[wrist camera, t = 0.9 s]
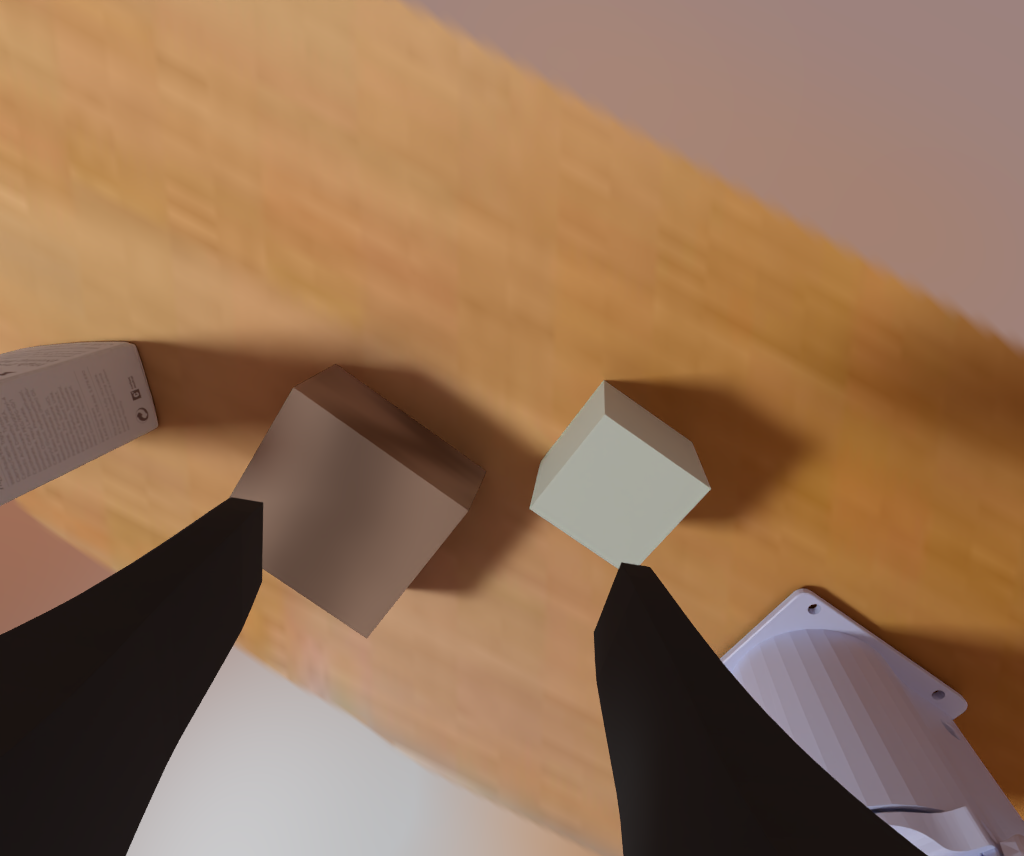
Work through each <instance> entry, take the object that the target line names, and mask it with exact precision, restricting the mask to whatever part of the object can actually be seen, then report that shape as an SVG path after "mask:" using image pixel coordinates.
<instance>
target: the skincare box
mask: <svg viewBox="0 0 1024 856" xmlns="http://www.w3.org/2000/svg"><path fill="white" fill-rule="evenodd" d="M157 427H158V421H157V416H156V412H155V407H154V404H153V399H152V395H151V392H150V389H149V386H148V383H147V379H146V376H145V372H144V369H143V366H142V362H141V360H140V357H139V353H138V351H137V348H136V346H135V345H134V344H131V343H128V342H80V343H66V344H55V345H44V346H36V347H29V348H23V349H19V350H15V351H11V352H7V353H3V354H0V506H1V505H3V504H5V503H7V502H9V501H11V500H13V499H15V498H17V497H19V496H21V495H23V494H25V493H27V492H29V491H31V490H33V489H35V488H37V487H39V486H41V485H43V484H45V483H47V482H49V481H52V480H54V479H56V478H58V477H60V476H62V475H64V474H66V473H68V472H70V471H72V470H74V469H76V468H78V467H80V466H82V465H84V464H86V463H88V462H90V461H92V460H94V459H96V458H98V457H100V456H102V455H104V454H106V453H108V452H110V451H112V450H114V449H116V448H118V447H120V446H122V445H124V444H126V443H128V442H130V441H132V440H134V439H136V438H138V437H140V436H142V435H144V434H146V433H148V432H150V431H152V430H154V429H156V428H157Z"/></svg>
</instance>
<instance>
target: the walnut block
mask: <svg viewBox="0 0 1024 856" xmlns="http://www.w3.org/2000/svg"><path fill="white" fill-rule="evenodd" d="M485 473H486V471H485V470H484V469H482V468H481V467H480V466H478V465H477V464H475V463H474V462H473V461H471V460H470V459H468V458H467V457H466V456H464V455H463V454H461V453H460V452H458V451H457V450H456V449H454V448H453V447H451V446H450V445H449V444H447V443H446V442H444V441H443V440H442V439H440V438H439V437H437V436H436V435H435V434H433V433H432V432H430V431H429V430H428V429H426V428H425V427H423V426H422V425H421V424H419V423H418V422H416V421H415V420H414V419H412V418H411V417H409V416H408V415H407V414H405V413H404V412H402V411H401V410H400V409H398V408H397V407H395V406H394V405H393V404H391V403H390V402H388V401H387V400H386V399H384V398H383V397H381V396H380V395H379V394H377V393H376V392H374V391H373V390H372V389H370V388H369V387H367V386H366V385H365V384H363V383H362V382H360V381H359V380H358V379H356V378H355V377H353V376H352V375H350V374H349V373H348V372H346V371H345V370H343V369H342V368H341V367H339V366H338V365H336V364H335V365H333V366H331V367H329V368H328V369H326V370H324V371H322V372H320V373H319V374H317V375H315V376H313V377H311V378H309V379H308V380H306V381H304V382H302V383H300V384H299V385H297V386H295V387H293V389H292V391H291V392H290V394H289V396H288V398H287V399H286V401H285V403H284V404H283V406H282V408H281V410H280V411H279V413H278V415H277V416H276V418H275V420H274V422H273V423H272V425H271V427H270V429H269V430H268V432H267V434H266V435H265V437H264V439H263V441H262V442H261V444H260V446H259V448H258V449H257V451H256V453H255V454H254V456H253V458H252V460H251V461H250V463H249V465H248V466H247V468H246V470H245V472H244V473H243V475H242V477H241V479H240V480H239V482H238V484H237V485H236V487H235V489H234V491H233V492H232V494H231V496H230V497H234V498H240V499H246V500H252V501H258V502H263V554H262V569H264V570H265V571H267V572H268V573H270V574H271V575H273V576H274V577H276V578H277V579H279V580H280V581H282V582H283V583H285V584H286V585H288V586H289V587H291V588H292V589H294V590H295V591H297V592H298V593H300V594H301V595H303V596H304V597H306V598H307V599H309V600H310V601H312V602H313V603H315V604H316V605H318V606H319V607H321V608H322V609H324V610H325V611H327V612H328V613H330V614H331V615H333V616H334V617H336V618H337V619H339V620H340V621H342V622H343V623H344V624H346V625H347V626H349V627H350V628H352V629H353V630H355V631H356V632H358V633H359V634H361V635H362V636H364V637H365V638H368V636H369V635H370V634H371V633H372V631H373V630H374V629H375V628H376V626H377V625H378V624H379V623H380V621H381V620H382V619H383V618H384V616H385V615H386V614H387V613H388V611H389V610H390V609H391V607H392V606H393V605H394V604H395V602H396V601H397V600H398V599H399V597H400V596H401V595H402V594H403V592H404V591H405V590H406V589H407V587H408V586H409V585H410V584H411V582H412V581H413V580H414V579H415V577H416V576H417V575H418V574H419V572H420V571H421V570H422V569H423V567H424V566H425V565H426V564H427V562H428V561H429V560H430V559H431V557H432V556H433V555H434V553H435V552H436V551H437V550H438V548H439V547H440V546H441V545H442V543H443V542H444V541H445V540H446V538H447V537H448V536H449V535H450V533H451V532H452V531H453V530H454V528H455V527H456V526H457V525H458V523H459V522H460V521H461V520H462V518H463V517H464V516H465V515H466V513H467V512H468V511H469V509H470V506H471V504H472V502H473V500H474V498H475V495H476V493H477V491H478V489H479V487H480V484H481V482H482V480H483V478H484V476H485Z"/></svg>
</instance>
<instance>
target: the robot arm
mask: <svg viewBox="0 0 1024 856" xmlns="http://www.w3.org/2000/svg"><path fill="white" fill-rule="evenodd" d="M262 554H263V502H258V501H252V500H246V499H240V498H234V497H230V498H229V499H227V500H226V501H224V502H223V503H221V504H220V505H218V506H217V507H215V508H214V509H212V510H211V511H209V512H208V513H206V514H205V515H203V516H202V517H201V518H199V519H198V520H196V521H195V522H193V523H192V524H190V525H189V526H187V527H186V528H185V529H183V530H182V531H180V532H179V533H177V534H176V535H174V536H173V537H171V538H170V539H168V540H167V541H165V542H164V543H162V544H161V545H159V546H158V547H156V548H154V549H153V550H151V551H150V552H148V553H147V554H145V555H144V556H142V557H141V558H139V559H138V560H136V561H135V562H133V563H131V564H130V565H128V566H127V567H125V568H123V569H122V570H120V571H118V572H117V573H115V574H113V575H112V576H110V577H108V578H107V579H105V580H103V581H101V582H100V583H98V584H96V585H95V586H93V587H91V588H90V589H88V590H86V591H85V592H83V593H81V594H80V595H78V596H76V597H74V598H72V599H70V600H69V601H67V602H65V603H63V604H61V605H59V606H58V607H56V608H54V609H52V610H50V611H48V612H46V613H44V614H42V615H40V616H38V617H36V618H34V619H32V620H30V621H28V622H26V623H24V624H22V625H20V626H18V627H16V628H14V629H12V630H10V631H8V632H6V633H3V634H1V635H0V856H126V854H127V851H128V849H129V846H130V844H131V842H132V840H133V838H134V835H135V833H136V831H137V828H138V826H139V823H140V822H141V819H142V817H143V815H144V813H145V810H146V808H147V806H148V804H149V802H150V800H151V797H152V795H153V793H154V791H155V788H156V786H157V784H158V782H159V780H160V778H161V776H162V773H163V771H164V769H165V767H166V765H167V763H168V761H169V759H170V757H171V755H172V753H173V751H174V749H175V747H176V745H177V743H178V741H179V740H180V738H181V736H182V734H183V732H184V731H185V729H186V727H187V725H188V724H189V722H190V720H191V718H192V717H193V715H194V713H195V711H196V710H197V708H198V706H199V705H200V703H201V701H202V699H203V697H204V696H205V694H206V692H207V690H208V689H209V687H210V685H211V683H212V682H213V680H214V678H215V676H216V675H217V673H218V671H219V670H220V668H221V666H222V664H223V663H224V661H225V659H226V657H227V655H228V654H229V652H230V650H231V648H232V647H233V645H234V643H235V641H236V639H237V638H238V636H239V634H240V632H241V630H242V628H243V626H244V624H245V621H246V619H247V617H248V614H249V612H250V610H251V607H252V605H253V603H254V600H255V598H256V595H257V593H258V590H259V588H260V585H261V583H262ZM812 604H817V606H816V607H815V608H813V609H809V608H808V607H809V606H810V605H812ZM594 646H595V666H596V681H597V687H598V693H599V698H600V704H601V710H602V716H603V721H604V727H605V732H606V738H607V743H608V749H609V754H610V759H611V765H612V770H613V776H614V781H615V787H616V792H617V799H618V806H619V813H620V821H621V832H622V844H623V855H624V856H1024V821H1023V820H1022V818H1021V817H1020V815H1019V814H1018V813H1017V811H1016V810H1015V808H1014V807H1013V805H1012V804H1011V803H1010V801H1009V800H1008V798H1007V797H1006V795H1005V794H1004V793H1003V791H1002V790H1001V788H1000V787H999V785H998V784H997V783H996V781H995V780H994V778H993V777H992V775H991V774H990V773H989V771H988V770H987V768H986V767H985V765H984V764H983V763H982V761H981V760H980V758H979V757H978V756H977V754H976V753H975V751H974V750H973V748H972V747H971V746H970V744H969V743H968V741H967V740H966V738H965V737H964V736H963V734H962V733H961V731H960V730H959V728H958V727H957V726H956V724H955V723H954V721H953V719H955V718H956V717H958V716H959V715H960V714H962V713H963V712H964V711H965V710H966V709H967V706H968V705H967V702H966V700H965V699H964V698H963V697H962V695H961V694H959V693H958V692H956V691H955V690H954V689H952V688H951V687H949V686H948V685H946V684H945V683H943V682H942V681H941V680H939V679H938V678H936V677H935V676H933V675H932V674H930V673H929V672H928V671H926V670H925V669H923V668H922V667H920V666H919V665H917V664H916V663H915V662H913V661H912V660H910V659H909V658H907V657H906V656H904V655H903V654H902V653H900V652H899V651H897V650H896V649H894V648H893V647H891V646H890V645H889V644H887V643H886V642H884V641H883V640H881V639H880V638H878V637H877V636H876V635H874V634H873V633H871V632H870V631H868V630H867V629H865V628H864V627H863V626H861V625H860V624H858V623H857V622H855V621H854V620H853V619H851V618H850V617H848V616H847V615H845V614H844V613H842V612H841V611H840V610H838V609H837V608H835V607H834V606H832V605H831V604H829V603H828V602H827V601H825V600H824V599H822V598H821V597H819V596H818V595H816V594H815V593H814V592H812V591H811V590H808V589H803V588H802V589H798V590H796V591H794V592H793V593H792V594H791V595H790V596H789V597H787V598H786V599H785V600H784V601H783V602H782V603H781V604H780V605H779V606H777V607H776V608H775V609H774V610H773V611H772V612H771V613H770V614H769V615H768V616H766V617H765V618H764V619H763V620H762V621H761V622H760V623H759V624H758V625H757V626H755V627H754V628H753V629H752V630H751V631H750V632H749V633H748V634H747V635H746V636H744V637H743V638H742V639H741V640H740V641H739V642H738V643H737V644H736V645H735V646H733V647H732V648H731V649H730V650H729V651H728V652H727V653H726V654H725V655H723V656H722V657H721V658H720V659H719V658H718V656H717V655H716V654H715V653H714V651H713V650H712V649H711V648H710V646H709V645H708V644H707V642H706V641H705V640H704V639H703V637H702V636H701V635H700V633H699V632H698V631H697V630H696V628H695V627H694V626H693V624H692V623H691V622H690V620H689V619H688V618H687V616H686V615H685V614H684V612H683V611H682V609H681V608H680V607H679V605H678V604H677V603H676V601H675V600H674V599H673V597H672V596H671V595H670V593H669V592H668V590H667V589H666V588H665V586H664V585H663V584H662V582H661V581H660V580H659V578H658V577H657V576H656V574H655V573H654V572H653V570H652V569H651V568H650V567H647V566H641V565H635V564H629V563H623V562H621V565H620V567H619V570H618V572H617V575H616V577H615V580H614V582H613V585H612V588H611V590H610V593H609V595H608V598H607V600H606V603H605V605H604V608H603V611H602V613H601V616H600V618H599V621H598V623H597V626H596V629H595V631H594ZM937 690H939V691H938V692H936V693H933V692H935V691H937Z"/></svg>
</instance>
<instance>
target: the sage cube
mask: <svg viewBox="0 0 1024 856" xmlns="http://www.w3.org/2000/svg"><path fill="white" fill-rule="evenodd" d="M710 490H711V487H710V485H709V482H708V480H707V477H706V475H705V473H704V470H703V468H702V465H701V463H700V460H699V458H698V455H697V453H696V451H695V448H694V446H693V443H692V442H691V441H690V440H688V439H687V438H685V437H684V436H683V435H681V434H680V433H678V432H677V431H675V430H674V429H673V428H671V427H670V426H668V425H667V424H666V423H664V422H663V421H661V420H660V419H658V418H657V417H656V416H654V415H653V414H651V413H650V412H649V411H647V410H646V409H644V408H643V407H641V406H640V405H639V404H637V403H636V402H634V401H633V400H632V399H630V398H629V397H627V396H626V395H624V394H623V393H622V392H620V391H619V390H617V389H616V388H615V387H613V386H612V385H610V384H609V383H607V382H606V381H605V380H603V382H602V383H601V384H600V386H599V387H598V388H597V389H596V391H595V392H594V393H593V395H592V396H591V397H590V398H589V400H588V401H587V402H586V404H585V405H584V406H583V407H582V409H581V410H580V411H579V413H578V414H577V415H576V417H575V418H574V419H573V420H572V422H571V423H570V424H569V426H568V427H567V428H566V429H565V431H564V432H563V433H562V435H561V436H560V437H559V438H558V440H557V441H556V442H555V444H554V445H553V446H552V447H551V449H550V450H549V451H548V453H547V454H546V455H545V456H544V458H543V459H542V460H541V462H540V466H539V471H538V475H537V479H536V483H535V487H534V492H533V496H532V500H531V504H530V508H529V509H530V510H532V511H533V512H535V513H536V514H538V515H539V516H541V517H542V518H544V519H545V520H547V521H548V522H550V523H551V524H553V525H554V526H556V527H557V528H559V529H560V530H562V531H563V532H564V533H566V534H567V535H569V536H570V537H572V538H573V539H575V540H576V541H578V542H579V543H581V544H582V545H584V546H585V547H587V548H588V549H590V550H591V551H593V552H594V553H596V554H597V555H599V556H600V557H602V558H603V559H605V560H606V561H608V562H609V563H610V564H612V565H613V566H615V567H616V568H618V569H619V567H620V565H621V562H623V563H629V564H635V565H640V564H641V563H642V562H643V561H644V560H645V559H646V558H647V557H648V556H649V554H650V553H651V552H652V551H653V550H654V549H655V548H656V547H657V546H658V545H659V544H660V543H661V542H662V541H663V540H664V539H665V537H666V536H667V535H668V534H669V533H670V532H671V531H672V530H673V529H674V528H675V527H676V526H677V525H678V524H679V523H680V521H681V520H682V519H683V518H684V517H685V516H686V515H687V514H688V513H689V512H690V511H691V510H692V509H693V508H694V507H695V506H696V504H697V503H698V502H699V501H700V500H701V499H702V498H703V497H704V496H705V495H706V494H707V493H708V492H709V491H710Z"/></svg>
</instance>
